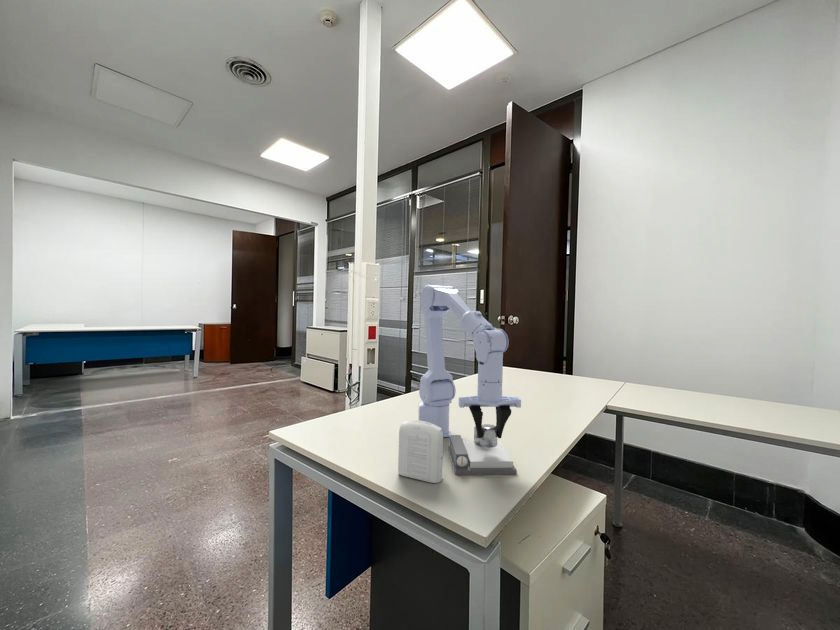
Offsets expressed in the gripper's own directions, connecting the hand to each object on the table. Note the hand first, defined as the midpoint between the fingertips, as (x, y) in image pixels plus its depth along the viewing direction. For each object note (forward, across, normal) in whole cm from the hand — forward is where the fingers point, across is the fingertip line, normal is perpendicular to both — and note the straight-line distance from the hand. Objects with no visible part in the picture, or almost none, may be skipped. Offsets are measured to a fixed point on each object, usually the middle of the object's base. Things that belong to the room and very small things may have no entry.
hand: (488, 436), depth 78 cm
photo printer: (+7, -16, -4) cm, 19 cm away
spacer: (+2, 0, 0) cm, 2 cm away
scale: (+7, -2, +2) cm, 8 cm away
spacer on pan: (+4, 0, +7) cm, 8 cm away
